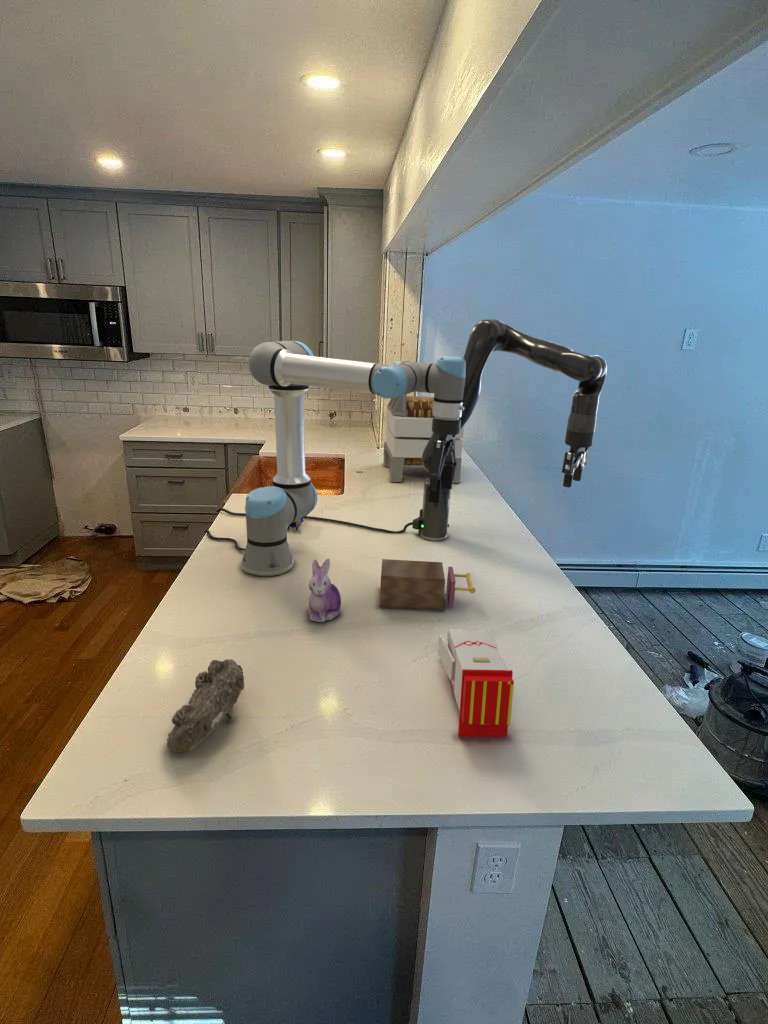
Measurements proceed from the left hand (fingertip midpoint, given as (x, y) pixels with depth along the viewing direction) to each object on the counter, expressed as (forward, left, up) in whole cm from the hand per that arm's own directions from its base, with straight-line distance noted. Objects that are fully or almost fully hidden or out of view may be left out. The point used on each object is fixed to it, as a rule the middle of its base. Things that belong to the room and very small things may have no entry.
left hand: (440, 495), depth 155 cm
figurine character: (-59, +20, -27) cm, 68 cm away
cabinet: (-3, -12, -27) cm, 30 cm away
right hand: (+32, +25, +2) cm, 41 cm away
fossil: (-20, -73, -27) cm, 81 cm away
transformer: (-43, +109, -27) cm, 120 cm away
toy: (+22, -44, -27) cm, 56 cm away
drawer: (+3, -10, -26) cm, 28 cm away
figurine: (-20, -30, -27) cm, 45 cm away
